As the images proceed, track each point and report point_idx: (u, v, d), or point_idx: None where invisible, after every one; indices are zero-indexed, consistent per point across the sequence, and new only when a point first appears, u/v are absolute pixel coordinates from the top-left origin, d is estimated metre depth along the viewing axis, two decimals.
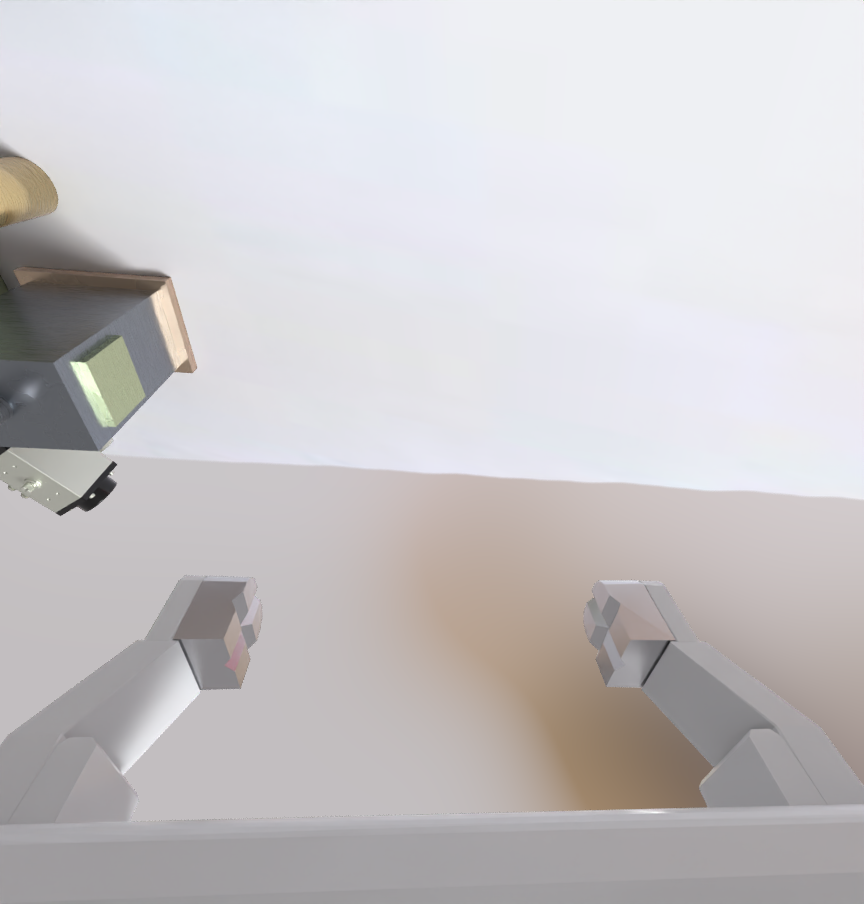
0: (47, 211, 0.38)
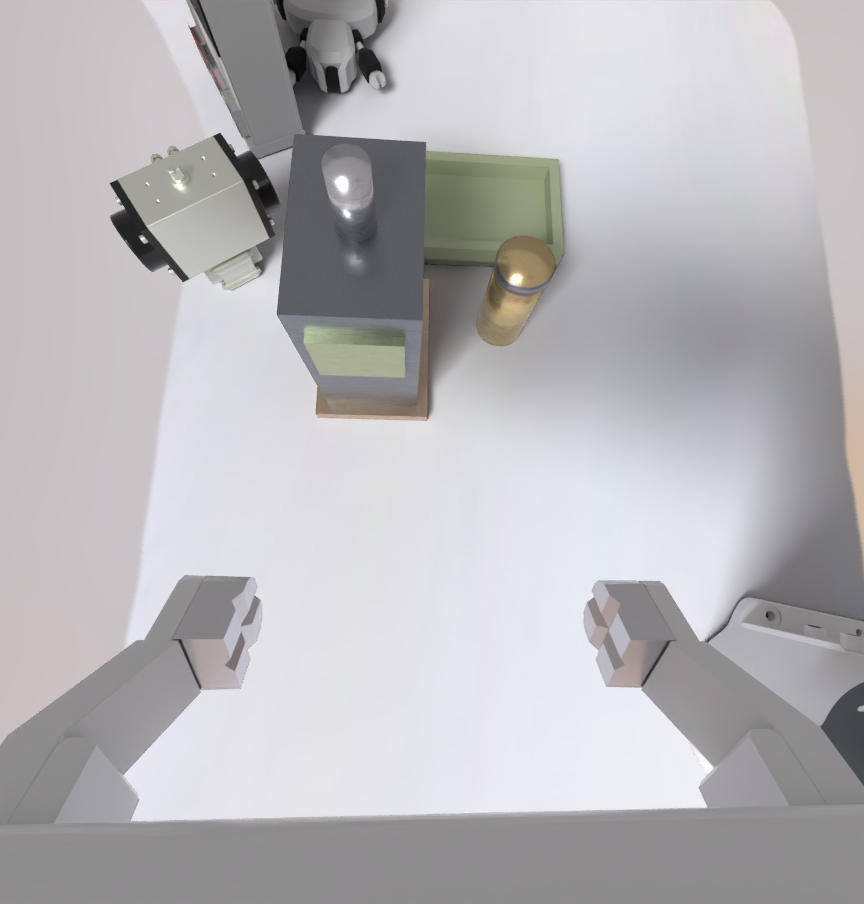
0: (484, 333, 0.41)
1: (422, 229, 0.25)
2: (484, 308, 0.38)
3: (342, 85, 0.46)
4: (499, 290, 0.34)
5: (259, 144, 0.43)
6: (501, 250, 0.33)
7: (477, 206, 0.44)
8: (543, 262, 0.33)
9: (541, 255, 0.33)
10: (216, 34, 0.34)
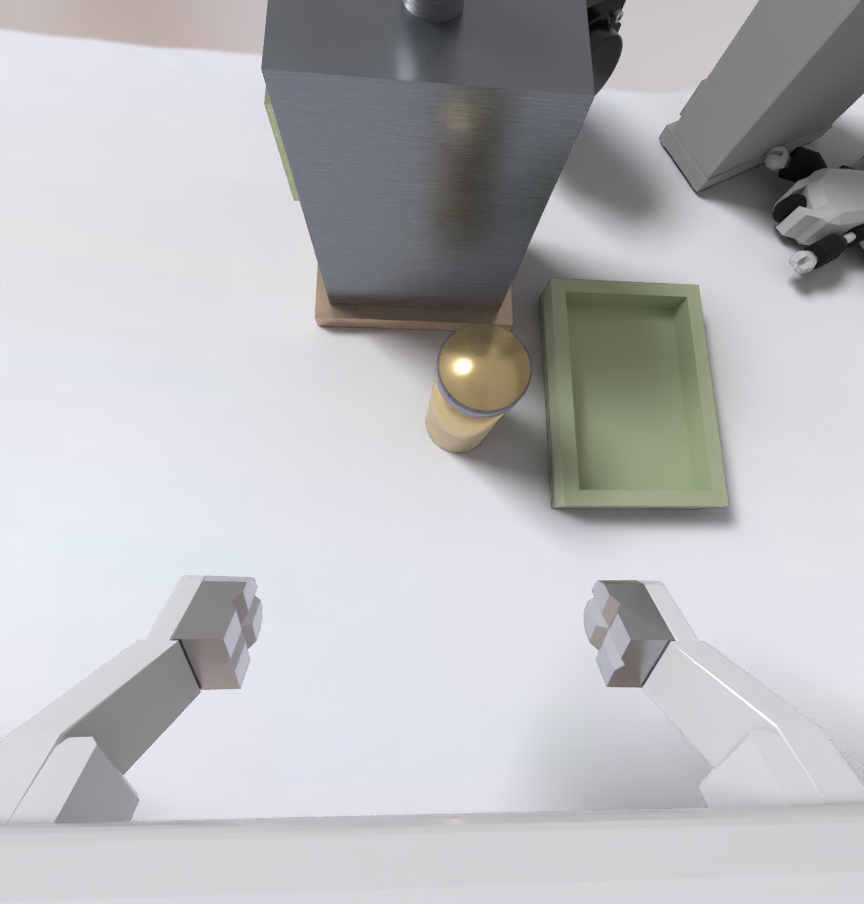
0: None
1: (428, 79, 0.15)
2: None
3: (784, 223, 0.34)
4: None
5: (675, 132, 0.35)
6: (500, 330, 0.21)
7: (634, 393, 0.31)
8: (484, 392, 0.20)
9: (496, 389, 0.20)
10: None
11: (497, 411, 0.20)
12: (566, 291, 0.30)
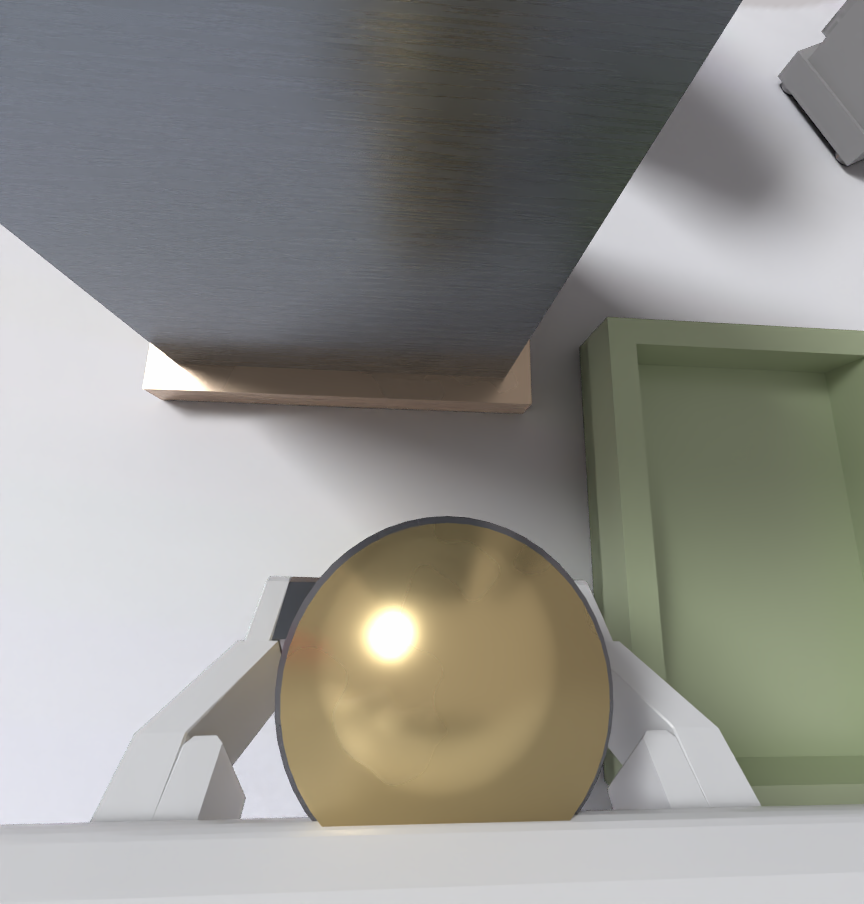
0: None
1: None
2: None
3: None
4: None
5: (814, 63, 0.20)
6: (503, 544, 0.06)
7: (764, 539, 0.16)
8: (444, 804, 0.05)
9: (490, 790, 0.05)
10: None
11: None
12: (637, 343, 0.15)
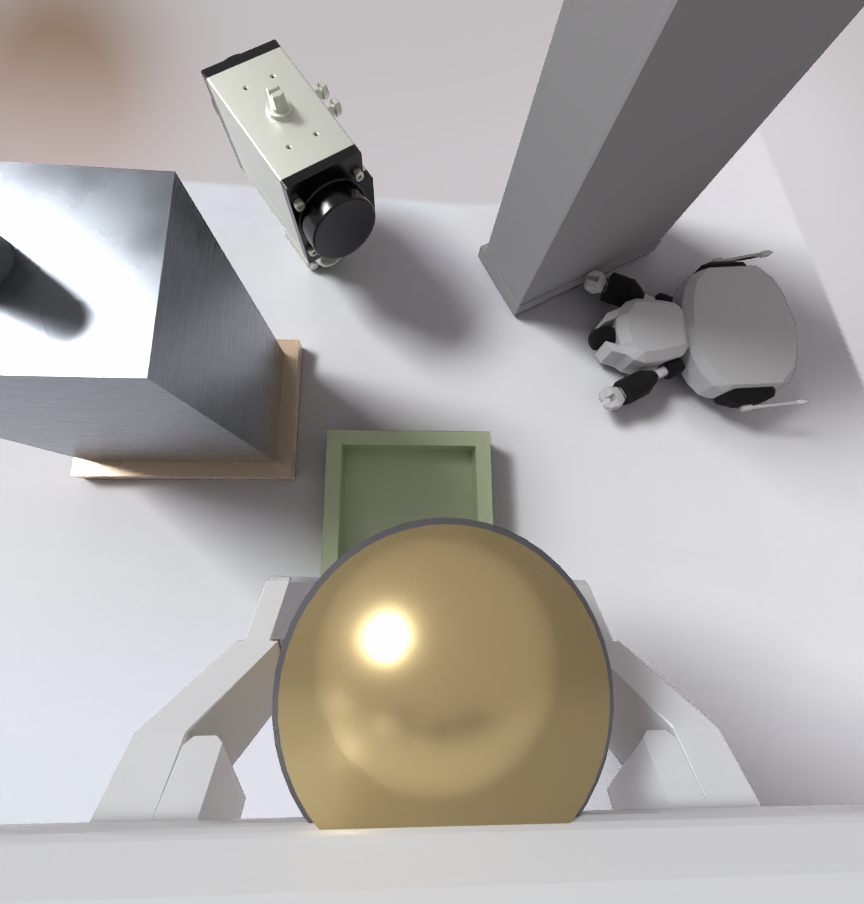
0: None
1: None
2: None
3: (599, 353, 0.32)
4: None
5: (488, 255, 0.33)
6: (503, 545, 0.06)
7: None
8: (443, 807, 0.05)
9: (490, 794, 0.05)
10: (523, 140, 0.24)
11: None
12: (342, 444, 0.28)
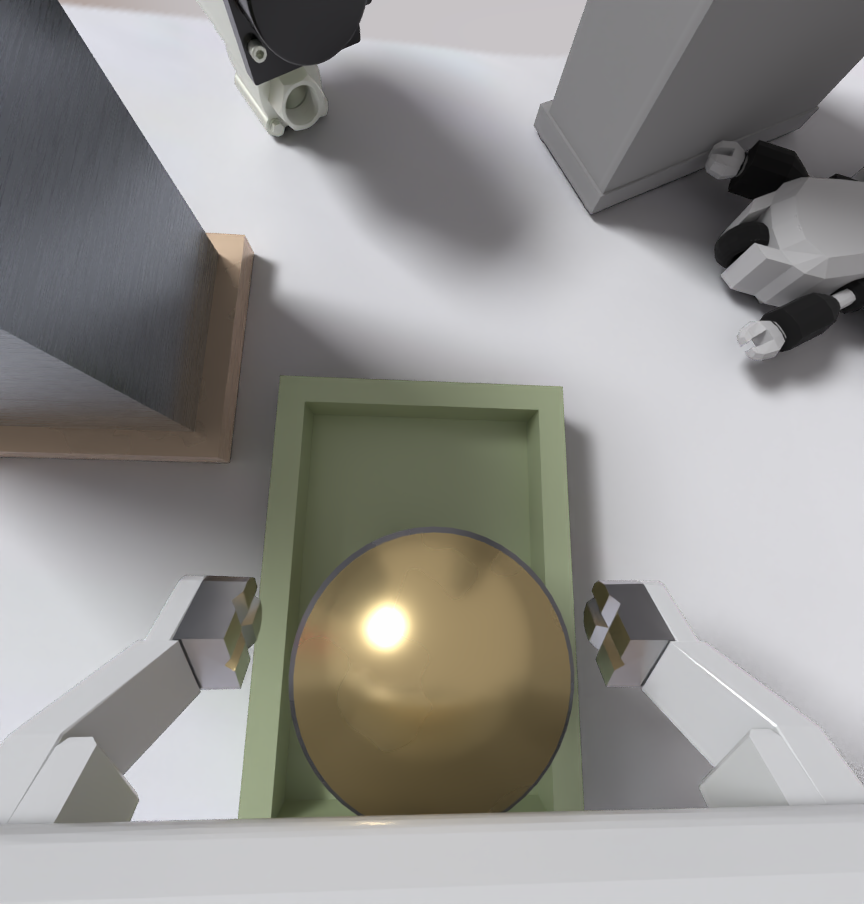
0: None
1: None
2: None
3: (733, 270, 0.20)
4: None
5: (553, 116, 0.21)
6: (481, 550, 0.07)
7: None
8: (430, 767, 0.07)
9: (468, 757, 0.07)
10: None
11: None
12: (305, 401, 0.16)
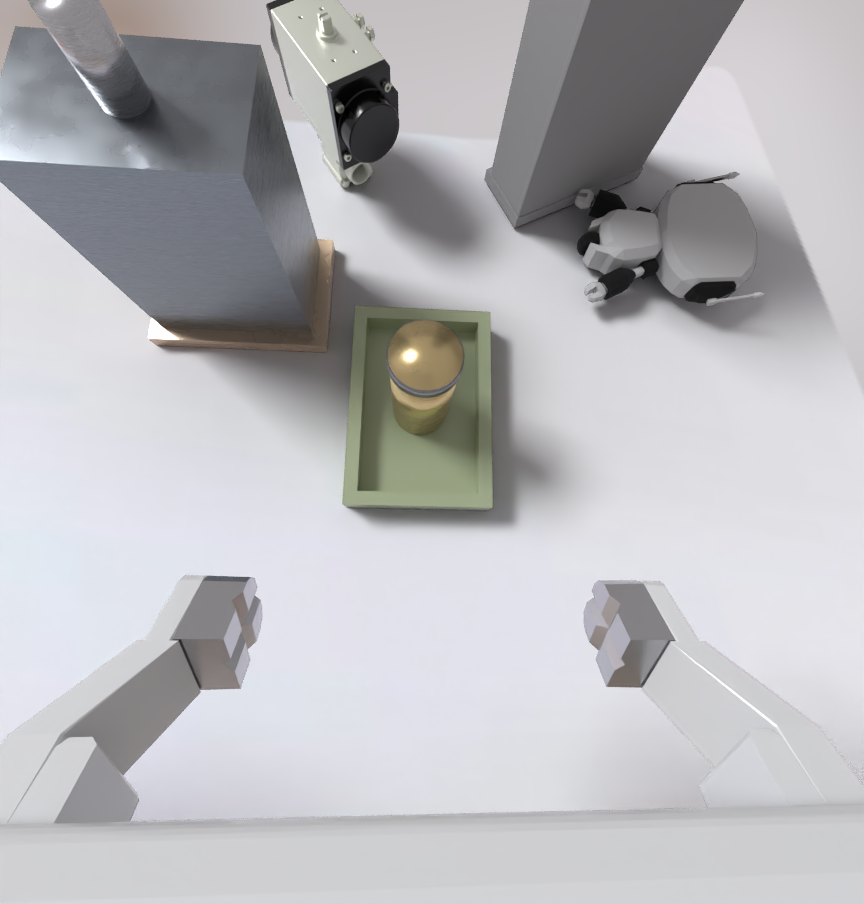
0: None
1: (106, 164, 0.20)
2: None
3: (586, 257, 0.38)
4: None
5: (493, 176, 0.39)
6: (439, 325, 0.25)
7: None
8: (424, 375, 0.25)
9: (434, 373, 0.25)
10: (519, 57, 0.30)
11: (435, 391, 0.25)
12: (367, 317, 0.34)
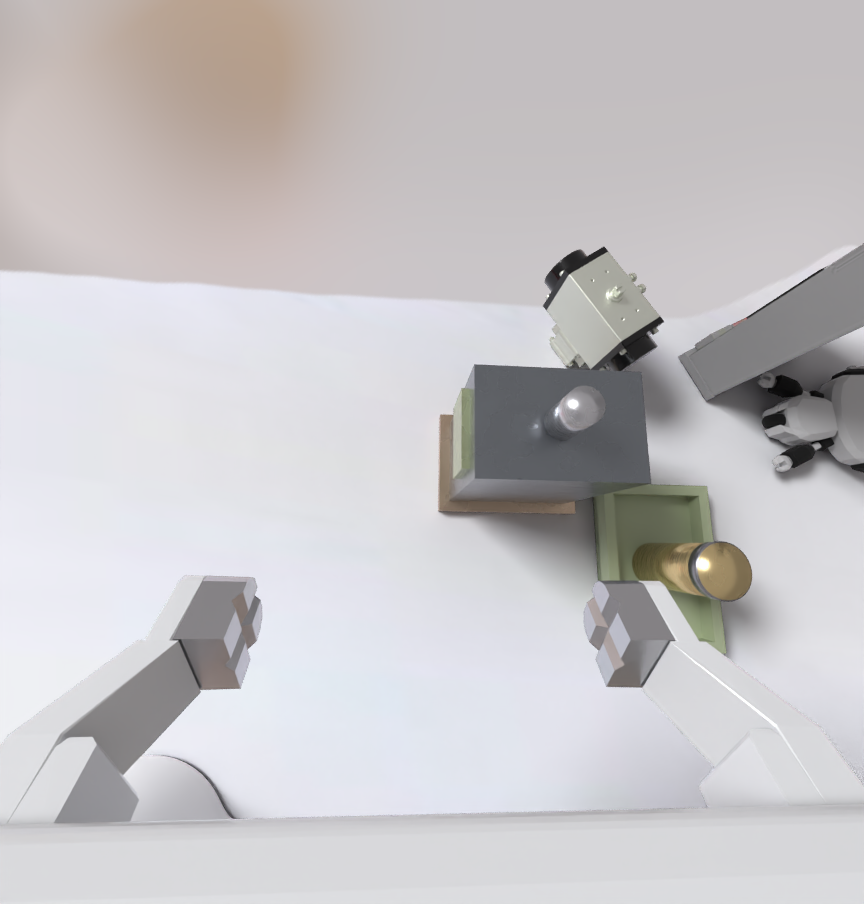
0: (643, 548, 0.43)
1: (561, 479, 0.28)
2: (668, 543, 0.40)
3: (770, 430, 0.47)
4: (689, 548, 0.36)
5: (691, 359, 0.48)
6: (731, 546, 0.34)
7: None
8: (726, 588, 0.34)
9: (733, 586, 0.34)
10: (761, 313, 0.39)
11: (734, 600, 0.34)
12: (613, 493, 0.43)
